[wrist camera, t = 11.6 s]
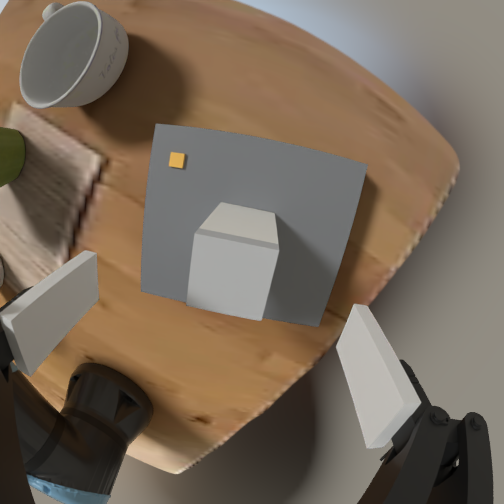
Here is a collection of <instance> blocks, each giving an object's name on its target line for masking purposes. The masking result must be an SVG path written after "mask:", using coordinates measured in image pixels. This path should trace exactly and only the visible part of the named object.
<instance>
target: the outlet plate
mask: <svg viewBox="0 0 504 504" xmlns="http://www.w3.org/2000/svg"><path fill="white" fill-rule="evenodd" d="M367 166H368V165H367V164H364V163H361V162H357V161H354V160H351V159H347V158H344V157H340V156H337V155H333V154H329V153H326V152H322V151H318V150H314V149H310V148H306V147H302V146H297V145H293V144H289V143H284V142H279V141H275V140H270V139H265V138H259V137H254V136H249V135H243V134H237V133H231V132H225V131H218V130H211V129H203V128H195V127H187V126H177V125H167V124H156V126H155V131H154V137H153V144H152V150H151V157H150V164H149V172H148V180H147V189H146V199H145V210H144V222H143V238H142V259H141V292H145V293H149V294H153V295H157V296H161V297H165V298H170V299H174V300H178V301H182V302H187V293H188V283H189V274H190V265H191V257H192V249H193V241H194V234H195V232H196V231H197V230H198V229H199V227H200V226H201V225H202V224H203V223H204V221H205V220H206V219H207V218H208V217H209V216H210V214H211V213H212V212H213V211H214V210H215V209H216V207H217V206H218V205H219V204H220V203H221V202H223V203H228V204H233V205H239V206H244V207H249V208H254V209H258V210H263V211H268V212H273V213H275V220H276V227H277V236H278V244H279V254H278V258H277V262H276V266H275V270H274V274H273V278H272V282H271V286H270V289H269V293H268V297H267V301H266V305H265V309H264V313H263V316H262V318H266V319H271V320H277V321H283V322H289V323H295V324H302V325H308V326H315V327H318V326H319V324H320V321H321V319H322V316H323V313H324V310H325V308H326V305H327V302H328V299H329V296H330V294H331V291H332V288H333V285H334V282H335V279H336V276H337V273H338V270H339V267H340V264H341V261H342V258H343V254H344V251H345V248H346V245H347V241H348V238H349V235H350V231H351V228H352V224H353V221H354V217H355V213H356V210H357V206H358V202H359V198H360V195H361V191H362V187H363V183H364V178H365V174H366V170H367Z"/></svg>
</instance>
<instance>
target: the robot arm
mask: <svg viewBox="0 0 504 504" xmlns="http://www.w3.org/2000/svg"><path fill="white" fill-rule="evenodd" d="M98 300H99V291H98V274H97V253H94V252H90V251H86V250H85V251H83V252H82V253H80V254H79V255H77V256H76V257H74V258H73V259H71V260H70V261H68V262H67V263H66V264H64V265H63V266H61V267H60V268H58V269H57V270H55V271H54V272H53V273H51V274H50V275H48V276H47V277H46V278H44V279H43V280H42V281H40V282H39V283H38V284H36V285H35V286H32V287H30V288H27V289H25V290H23V291H22V292H20V293H19V294H18V295H17V297H16V296H15V297H14V298H13V299H11V301H9V302H7V303H6V304H5V305H4V306H2V307H1V308H0V504H35V502H34V499H33V496H32V493H31V489H30V486H32V487H33V488H35V489H37V490H39V491H40V492H42V493H44V494H46V495H47V496H49V497H51V498H54V499H55V500H57V501H59V502H61V503H64V504H106V503H107V502H108V500H109V498H110V497H111V495H110V494H111V491H112V488H113V486H114V483H115V480H116V477H117V475H118V472H119V469H120V466H121V464H122V461H123V459H124V456H125V453H126V451H127V448H128V446H129V445H130V444H131V443H132V442H133V441H134V440H135V439H136V438H137V437H138V436H139V435H140V433H141V432H142V431H143V430H144V429H145V428H146V427H147V426H148V424H149V422H150V420H151V417H152V414H153V407H152V404H151V402H150V400H149V399H148V397H147V396H146V395H145V393H144V392H143V391H142V390H141V389H140V388H139V387H138V386H137V385H136V384H134V383H133V382H132V381H131V380H129V379H128V378H126V377H125V376H123V375H122V374H120V373H118V372H116V371H115V370H113V369H110V368H108V367H105V366H103V365H99V364H94V363H84V364H81V365H79V366H78V367H77V368H76V370H75V371H74V372H73V374H72V375H71V377H70V381H69V385H68V389H67V394H66V399H65V404H64V407H63V409H62V410H61V412H60V413H59V412H58V411H57V410H56V409H55V408H54V407H53V406H52V405H51V404H50V403H49V402H48V401H47V400H46V399H45V398H44V397H43V396H42V395H41V394H40V393H39V392H38V391H37V389H36V388H35V387H34V386H33V385H32V384H31V383H30V382H29V381H28V379H27V378H26V377H25V376H24V375H23V374H22V372H23V373H25V374H27V375H28V376H30V377H31V376H32V375H33V373H34V372H35V371H36V370H37V368H38V367H39V366H40V365H41V364H42V362H43V361H44V360H45V359H46V358H47V356H48V355H49V354H50V353H51V352H52V351H53V349H54V348H55V347H56V346H57V345H58V344H59V342H60V341H61V340H62V339H63V338H64V337H65V336H66V335H67V333H68V332H69V331H70V330H71V329H72V328H73V327H74V326H75V325H76V323H77V322H78V321H79V320H80V319H81V318H82V317H83V316H84V315H85V314H86V313H87V312H88V311H89V310H90V308H91V307H92V306H93V305H94V304H95V303H96V302H97V301H98ZM336 349H337V352H338V354H339V358H340V361H341V364H342V367H343V370H344V373H345V376H346V379H347V383H348V386H349V389H350V392H351V396H352V399H353V402H354V405H355V409H356V412H357V416H358V419H359V422H360V426H361V429H362V433H363V436H364V440H365V443H366V448H367V449H371V448H381V447H384V446H385V445H386V444H387V442H388V441H389V440H390V439H392V442H393V445H394V446H393V447H392V448H391V449H390V450H389V451H388V452H387V453H386V454H385V455H384V456H383V457H382V458H381V459H380V460H381V461H382V460H383V459H384V458H385V459H384V461H383V463H382V465H381V466H380V468H379V470H378V472H377V473H376V475H375V477H374V478H373V480H372V482H371V483H370V485H369V487H368V488H367V490H366V491H365V493H364V494H363V496H362V498H361V499H360V500H359V502H358V503H357V504H493V474H492V473H493V471H492V459H491V450H490V441H489V434H488V428H487V424H486V421H485V420H484V418H483V417H482V416H481V415H480V414H477V413H475V412H470V413H467V415H466V416H465V417H464V418H463V420H455V419H450V417H449V415H448V414H447V412H446V411H445V410H443V409H442V408H440V407H437V406H432V405H431V403H430V402H429V400H428V398H427V396H426V394H425V392H424V391H423V388H422V387H421V385H420V384H419V381H418V379H417V378H416V377H415V374H414V372H413V370H412V369H411V367H410V366H409V365H408V364H407V363H406V362H405V361H404V360H399V359H398V358H397V356H396V354H395V353H394V351H393V349H392V347H391V345H390V343H389V342H388V340H387V338H386V337H385V335H384V333H383V331H382V330H381V328H380V326H379V325H378V323H377V321H376V320H375V318H374V316H373V315H372V313H371V311H370V310H369V308H368V306H366V305H359V304H354V305H353V307H352V310H351V312H350V315H349V317H348V320H347V322H346V325H345V327H344V329H343V332H342V334H341V336H340V339H339V341H338V343H337V346H336ZM13 359H14V360H15V363H16V365H15V364H14V363H13V362H12V361H13ZM21 371H22V372H21ZM458 459H459V465H458V466H456V461H457V460H458ZM29 485H30V486H29Z"/></svg>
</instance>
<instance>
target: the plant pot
mask: <svg viewBox="0 0 504 504" xmlns="http://www.w3.org/2000/svg"><path fill="white" fill-rule="evenodd" d="M24 160H25V144H24V140H23V137H22V136H21V135H20V134H19V132H18V131H17V130H15V129H10V128H3V127H0V187H2V186H4V185H5V184H7V183H9V182H11V181H13V180H15V179H16V178H17V177H18V176H19V173H20V171H21V169H22V167H23V165H24Z"/></svg>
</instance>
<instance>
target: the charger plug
mask: <svg viewBox="0 0 504 504" xmlns="http://www.w3.org/2000/svg"><path fill="white" fill-rule="evenodd" d="M278 254H279V244H278V236H277V227H276V220H275V213H273V212H268V211H263V210H258V209H254V208H249V207H244V206H239V205H233V204H228V203H223V202H221V203H220V204H219V205H218V206H217V207H216V209H215V210H214V211H213V212H212V213H211V214H210V216H209V217H208V218H207V219H206V220H205V221H204V223H203V224H202V225H201V226H200V227H199V229H198V230H197V231H196V232H195V234H194V241H193V249H192V257H191V265H190V274H189V283H188V293H187V303H186V306H191V307H195V308H199V309H204V310H208V311H213V312H218V313H223V314H227V315H232V316H237V317H242V318H248V319H253V320H258V321H261V320H262V316H263V313H264V309H265V305H266V301H267V297H268V293H269V289H270V286H271V282H272V278H273V274H274V270H275V266H276V262H277V258H278Z"/></svg>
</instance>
